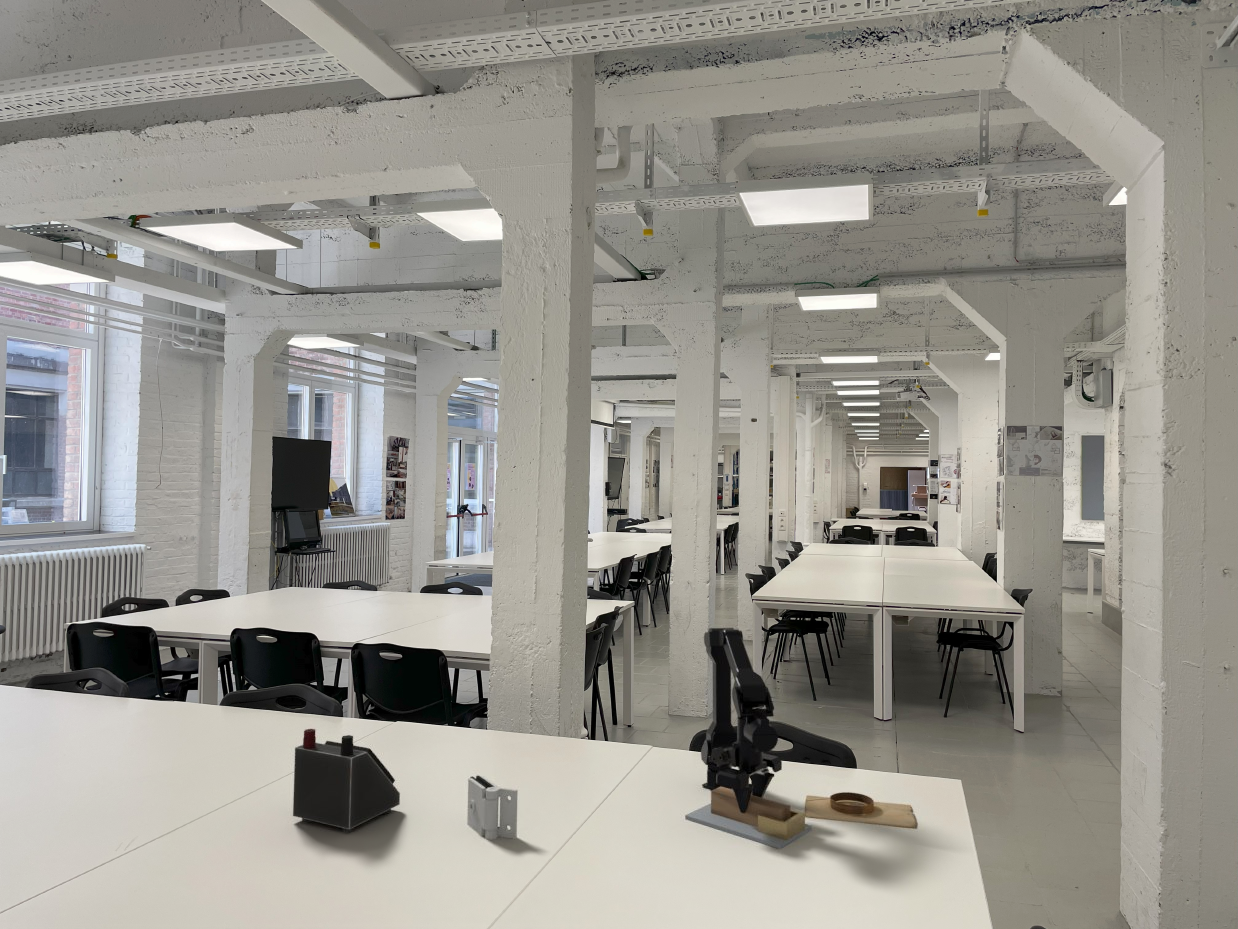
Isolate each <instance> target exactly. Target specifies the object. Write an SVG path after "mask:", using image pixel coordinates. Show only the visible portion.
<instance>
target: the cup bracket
mask: <svg viewBox="0 0 1238 929" xmlns="http://www.w3.org/2000/svg"><path fill="white" fill-rule="evenodd" d="M805 824H806V817H805V812H803V811H802V812H801V811H799V810H795V809H793V808H790V819H788V820H786V821H783V820H780V819H776V818H773V817H769V816H766V815H762V814H759V815H758V832H760V833H764V834H767V835H770V836H773V837H777V838H780V839H783V840H786V841H787V840H789V839H790V838H792V837H794V836H795V835H797V834H799V833H800V832H802V831H803V830H805Z"/></svg>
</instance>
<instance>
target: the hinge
mask: <svg viewBox="0 0 1238 929" xmlns="http://www.w3.org/2000/svg"><path fill="white" fill-rule="evenodd" d="M467 781H468V782H467V820H466V821H467V822H466V823H467V824H466V825H467V826H468V827H469V828H471V829H472V830H473V831H474V832H475V833H477V834H478V835H479V836H481V837H483V836H484V838H485V839H486V840H496V839H498V837H501V838H506V839H507V838H508V839H512V840H513V839H514V840H515V839H517V836H518V835H517V834H518V832H517V831H518V791H519V790H518V789H515V788H507V787H502V786H498V785H497V784H495V783H494V782H492V781H491V780H490V779H488V778H486V777H485V776H484V775H478V774H477V775H476V776H475V777H474V776H470V777H468V780H467ZM509 797H510V799H509ZM508 827H510V829H509V828H508Z"/></svg>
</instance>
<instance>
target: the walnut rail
mask: <svg viewBox="0 0 1238 929" xmlns="http://www.w3.org/2000/svg"><path fill="white" fill-rule="evenodd" d="M710 803H711V813H712V814H715V815H719V816H722V817H725V818H729V819H732V820H735V821H738V822H742V823H745V824H748V825H752V826H755V827H758V815H759V814H762V815H766V816H769V817H773V818H776V819H780V820H783V821H786V820H788V819H790V809H791V808H792V807H791V805H789V804H785V803H782V802H779V801H778V802H777V801H776V800H775V801H774V800H771V799H767V798H764V797H763V798H761V797H757V796H754V795H752V794H751V797H750V800H749V804H748V807H747V810H746V813H741V812H740V809H739V806H738V802H737V799H736V796H735V793H734V791H733V789H729V788H725V787H718V788H716V789H714V790H713V789H711V790H710Z"/></svg>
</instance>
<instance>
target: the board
mask: <svg viewBox="0 0 1238 929" xmlns="http://www.w3.org/2000/svg"><path fill="white" fill-rule="evenodd" d="M804 813H805V818H807V819H819V820H827V821H828V820H829V821H837V822H846V823H847V822H848V823H855V824H864V825H875V826H877V825H878V826H885V827H894V828H895V827H896V828H902V829H903V828H904V829H913V830H915V829H917V830H918V825H917V821H916V817H915V815H914V812H913V808H912V806H911V804H903V803H893V802H881V801H874V799H873V798H872V797H870V796H868V795H866V794H863V793H858V792H850V791H848V792H847V791H846V792H845V791H843V792H842V791H841V792H837V793H836V792H835V793H833V794H831V795H830V796H829V797H828V796H818V795H806V797H805V802H804Z"/></svg>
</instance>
